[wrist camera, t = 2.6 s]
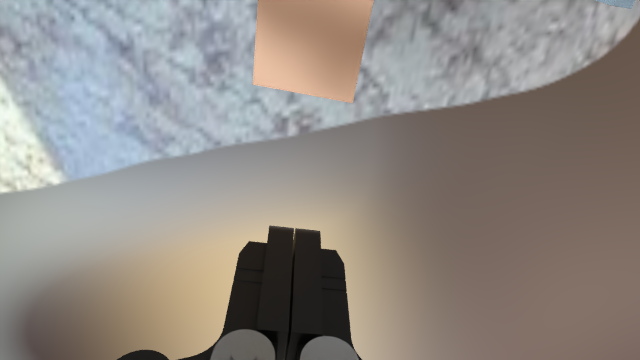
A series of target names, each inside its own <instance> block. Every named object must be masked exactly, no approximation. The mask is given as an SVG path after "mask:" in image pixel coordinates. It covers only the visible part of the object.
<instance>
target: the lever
mask: <svg viewBox="0 0 640 360" xmlns="http://www.w3.org/2000/svg"><path fill="white" fill-rule="evenodd" d="M373 1H374V0H258V9H257V26H256V42H255V58H254V74H253V85H259V86H264V87H270V88H275V89H280V90H286V91H291V92H296V93H302V94H307V95H312V96H318V97H323V98H328V99H334V100H339V101H344V102H350V103H353V98H354V93H355V88H356V84H357V79H358V74H359V69H360V64H361V59H362V54H363V49H364V45H365V40H366V35H367V30H368V25H369V20H370V15H371V10H372V5H373Z"/></svg>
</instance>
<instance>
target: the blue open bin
mask: <svg viewBox="0 0 640 360" xmlns="http://www.w3.org/2000/svg"><path fill="white" fill-rule="evenodd" d="M596 1H599V2H603V3H606V4H609V5H612V6H617V7H623V8H629V9H631V8H632V6H633V4H634V2H635V1H636V0H596Z"/></svg>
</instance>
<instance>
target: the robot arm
mask: <svg viewBox="0 0 640 360" xmlns="http://www.w3.org/2000/svg"><path fill="white" fill-rule="evenodd" d="M293 237H294V240H293ZM117 360H169V359H168V358H167V357H166V356H164V355H163V354H161V353H159V352H156V351H153V350H139V351H135V352H131V353H128V354H126V355H124V356H122V357H121V358H119V359H117ZM178 360H362V359H361V358H360V357H359V355H358V354H357V353H356V351H355V349H354V347H353V344H352V340H351V332H350V322H349V311H348V301H347V293H346V281H345V269H344V263H343V261H342V260H341V258H340V256H339V255H338V253H337V251H336V250H329V249H321V238H320V231H315V230H306V229H297V228H296V229H295V234H294V228H286V227H277V226H269V234H268V241H267V243H260V242H251V241H249V242H248V243H247V245H246V246H245V247H244V248H243V249H242V251H241V252H240V253H239V257H238V261H237V266H236V271H235V276H234V281H233V285H232V291H231V295H230V300H229V305H228V310H227V314H226V319H225V324H224V328H223V332H222V334H221V336H220V338H219V339H218V340H217V342H216V343H215V344H214V345H213V346H211V347H210V348H209V349H208V350H206V351H204V352H202V353H200V354H198V355H195V356H191V357H188V358H183V359H178Z"/></svg>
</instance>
